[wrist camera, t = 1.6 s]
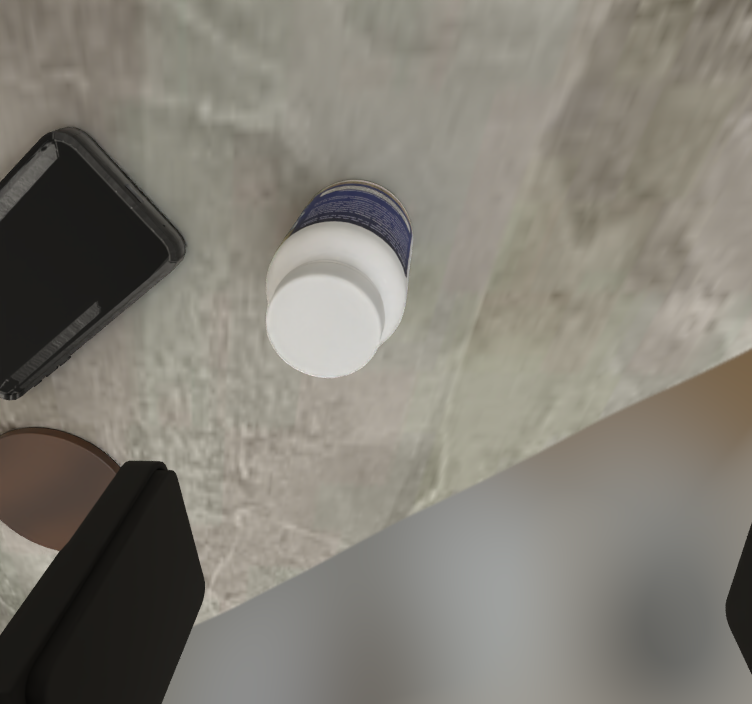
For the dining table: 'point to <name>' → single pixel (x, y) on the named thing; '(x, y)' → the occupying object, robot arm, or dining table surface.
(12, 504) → the coaster
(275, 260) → the pill bottle
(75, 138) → the phone
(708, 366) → the dining table surface
